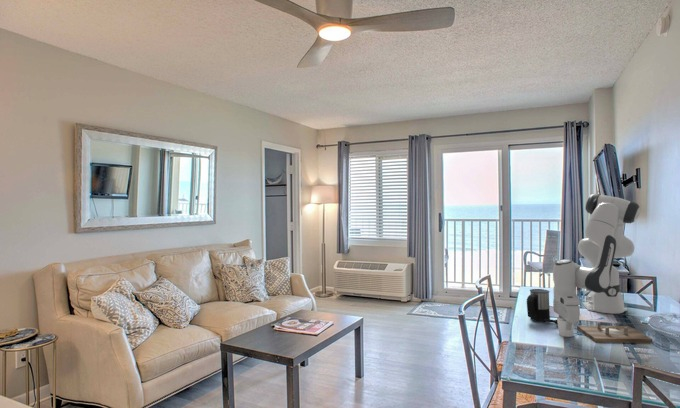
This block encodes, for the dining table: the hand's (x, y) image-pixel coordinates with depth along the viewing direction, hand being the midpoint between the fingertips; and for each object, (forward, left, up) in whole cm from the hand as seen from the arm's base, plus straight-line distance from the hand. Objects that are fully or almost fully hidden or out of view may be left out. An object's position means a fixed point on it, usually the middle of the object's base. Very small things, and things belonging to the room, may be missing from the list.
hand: (565, 327), depth 185 cm
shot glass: (0, 0, -3) cm, 3 cm away
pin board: (0, +19, -3) cm, 19 cm away
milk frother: (-20, -2, -4) cm, 20 cm away
